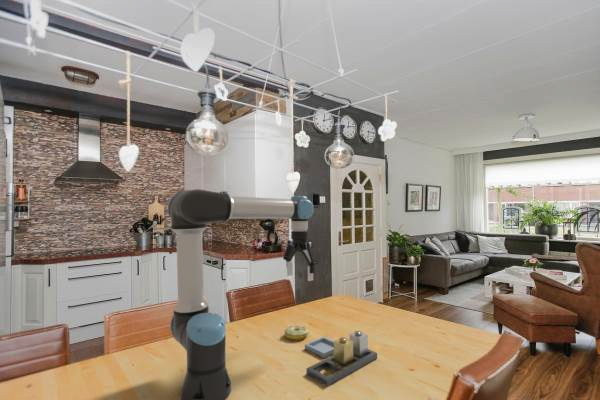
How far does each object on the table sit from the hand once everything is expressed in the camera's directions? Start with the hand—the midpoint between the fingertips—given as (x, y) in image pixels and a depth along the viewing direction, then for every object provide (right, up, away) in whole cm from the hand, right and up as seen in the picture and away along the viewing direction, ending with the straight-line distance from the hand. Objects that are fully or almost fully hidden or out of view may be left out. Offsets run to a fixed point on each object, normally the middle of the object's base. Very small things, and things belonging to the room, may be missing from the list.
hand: (299, 278), depth 138 cm
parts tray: (+10, -27, -11) cm, 30 cm away
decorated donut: (-2, -27, +2) cm, 27 cm away
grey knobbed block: (+23, -26, -18) cm, 39 cm away
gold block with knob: (+16, -26, -24) cm, 39 cm away
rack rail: (+16, -26, -24) cm, 39 cm away
